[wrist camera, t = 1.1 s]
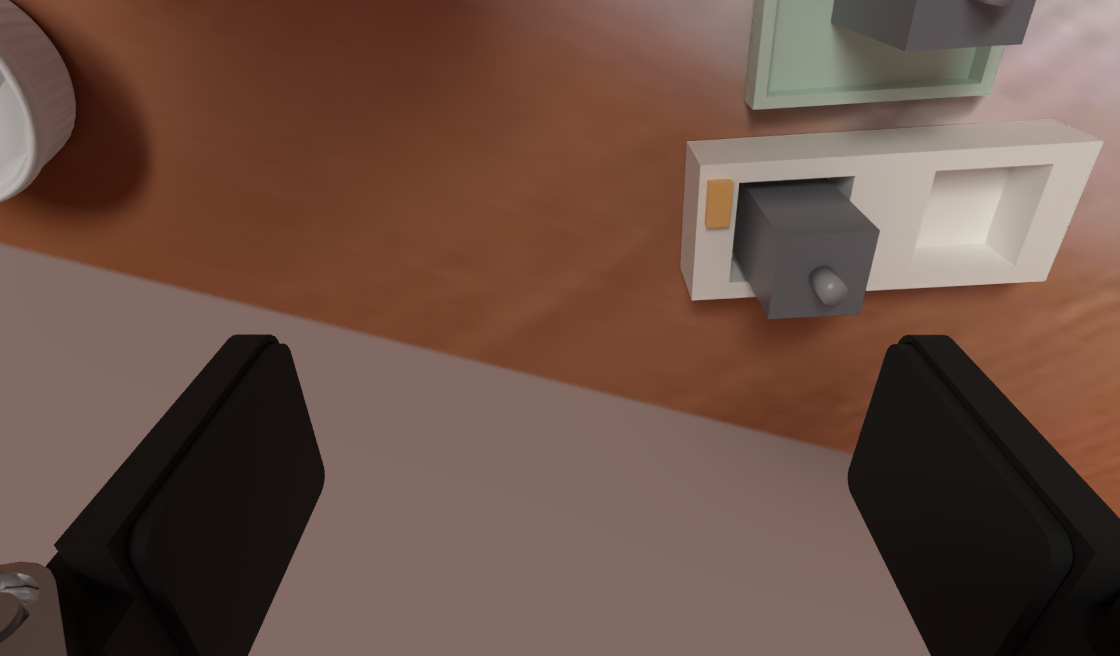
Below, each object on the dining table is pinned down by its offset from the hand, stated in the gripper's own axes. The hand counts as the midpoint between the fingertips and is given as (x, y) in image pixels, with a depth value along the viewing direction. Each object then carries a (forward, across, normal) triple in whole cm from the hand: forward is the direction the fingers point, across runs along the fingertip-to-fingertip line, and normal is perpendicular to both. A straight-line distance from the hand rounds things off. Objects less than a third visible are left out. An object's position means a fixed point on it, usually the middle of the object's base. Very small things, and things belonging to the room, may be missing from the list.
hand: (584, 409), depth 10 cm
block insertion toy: (+28, -16, +7) cm, 33 cm away
